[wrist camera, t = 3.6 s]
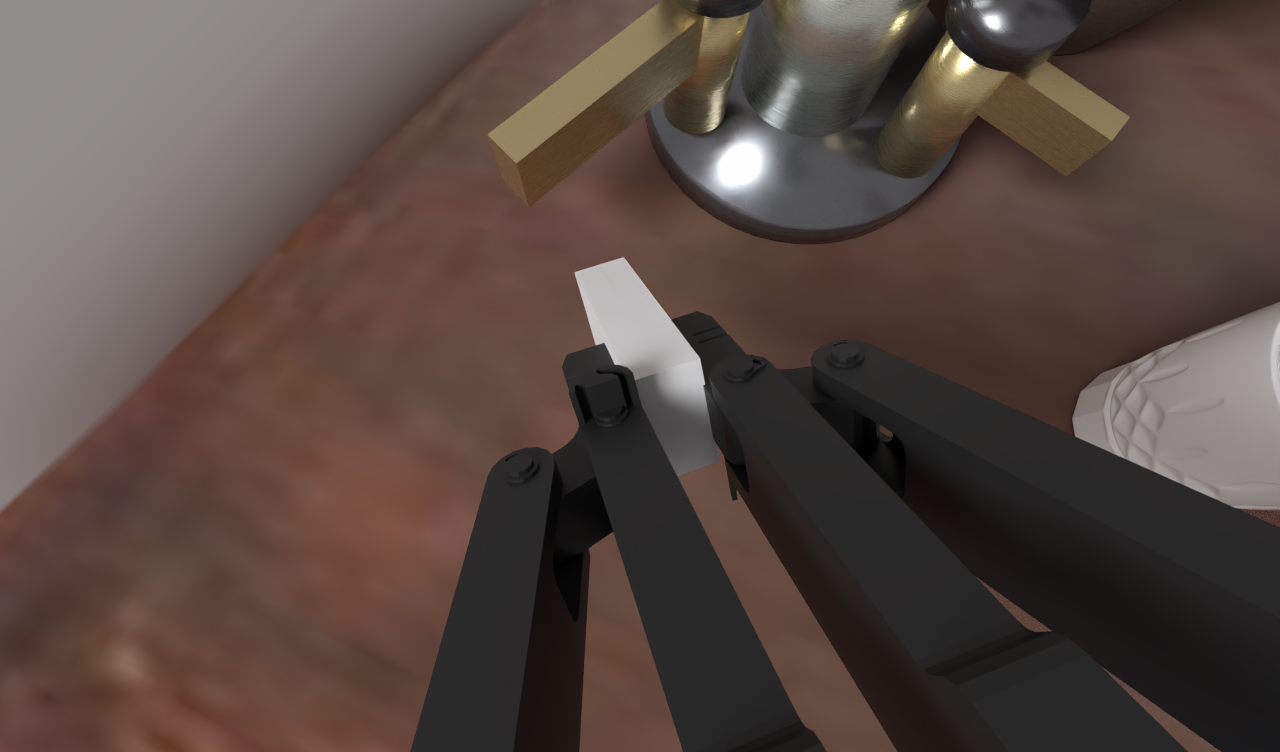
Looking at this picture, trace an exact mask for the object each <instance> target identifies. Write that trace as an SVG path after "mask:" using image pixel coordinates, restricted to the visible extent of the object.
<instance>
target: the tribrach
mask: <svg viewBox="0 0 1280 752" xmlns="http://www.w3.org/2000/svg"><path fill="white" fill-rule="evenodd" d="M929 2H930V0H764V1H763V2H762V3H761V4H760V5H759V6H758V7H756V8H755V9H753V10H752V11H750V14H749V18H748V22H747V26H746V30H745V34H744V38H743V42H742V46H741V50H740V54H739V58H738V62H737V67H736V71H735V75H734V79H733V83H732V87H731V91H730V95H729V99H728V103H727V107H726V111H725V115H724V118H723V120H722V121H721V123H720V124H719V125H718V126H717V127H716V128H714V129H713V130H711V131H709V132H707V133H703V134H688V133H684V132H682V131H680V130H678V129H676V128H675V127H673V126H672V125H671V124H670V123H669V122H668V120H667V119H666V117H665V114H664V111H663V100H664V98H663V99H662V100H660V101H659V102H658V103H657V104H655V105H654V106H653V107H652V108H651V109H649V110H648V111H647V112H646V113H645V116H646V122H647V128H648V132H649V135H650V138H651V141H652V145H653V147H654V149H655V151H656V153H657V155H658V158H659V160H660V162H661V163H662V165H663V166H664V168H665V169H666V171H667V173H668V174H669V176H670V177H671V179H672V180H673V181H674V182H675V183H676V184H677V185H678V187H679V188H680V189H681V190H682V191H683V192H684V193H685V194H686V195H687V196H688V197H689V198H690V199H691V200H692V201H693V202H695V203H696V204H697V205H698V206H699V207H700V208H702V209H703V210H705V211H706V212H708V213H709V214H711V215H712V216H713V217H715V218H716V219H718V220H720V221H722V222H724V223H726V224H728V225H730V226H732V227H733V228H736V229H738V230H741V231H743V232H746V233H749V234H751V235H754V236H757V237H761V238H765V239H769V240H773V241H779V242H786V243H794V244H822V243H831V242H839V241H843V240H847V239H851V238H855V237H859V236H861V235H864V234H866V233H869V232H872V231H874V230H876V229H878V228H880V227H882V226H884V225H886V224H887V223H889V222H891V221H893V220H894V219H895V218H897V217H898V216H899V215H901V214H902V213H903V212H905V211H906V210H907V209H908V208H909V207H910V206H911V205H912V204H913V203H914V202H915V201H916V200H917V199H918V198H919V197H920V196H921V195H922V194H923V193H924V192H925V191H926V190H927V189H928V187H929V186H930V185H931V184H932V183H933V182H934V181H935V180H936V179H937V178H938V176H939V175H940V174H941V173H942V171H943V170H944V168H945V167H946V166H947V164H948V163H949V161H950V160H951V158H952V156H953V154H954V152H955V150H956V148H957V146H958V144H959V141H960V138H961V135H962V134H963V132H964V131H965V130H966V129H967V128H968V127H969V126H970V124H971V123H972V122H973V121H974V120H975V119H976V117H977V116H978V115H979V116H980V117H982V118H983V119H984V120H986V121H987V122H989V123H990V124H992V125H993V126H994V127H996V128H997V129H999V130H1000V131H1001V132H1003V133H1004V134H1006V135H1007V136H1009V137H1010V138H1011V139H1013V140H1014V141H1016V142H1017V143H1019V144H1020V145H1021V146H1023V147H1024V148H1026V149H1027V150H1029V151H1030V152H1031V153H1033V154H1034V155H1036V156H1037V157H1039V158H1040V159H1041V160H1043V161H1044V162H1046V163H1047V164H1048V165H1050V166H1051V167H1053V168H1054V169H1056V170H1057V171H1058V172H1060V173H1061V174H1063V175H1064V176H1068V175H1069V174H1070V173H1072V172H1073V171H1074V170H1075V169H1077V168H1078V167H1079V166H1080V165H1082V164H1083V163H1084V162H1086V161H1087V160H1088V159H1089V158H1091V157H1092V156H1093V155H1094V154H1096V153H1097V152H1098V151H1100V150H1101V149H1102V148H1103V147H1105V146H1106V145H1107V144H1109V143H1110V142H1111V141H1112V140H1113V139H1114V137H1115V136H1116V135H1117V134H1118V132H1119V131H1120V130H1121V128H1122V127H1123V126H1124V125H1125V123H1126V122H1127V121H1128V119H1129V118H1130V117H1129V116H1127V115H1126V114H1124V113H1123V112H1122V111H1120V110H1119V109H1117V108H1116V107H1114V106H1113V105H1111V104H1110V103H1108V102H1107V101H1105V100H1104V99H1102V98H1101V97H1099V96H1098V95H1096V94H1095V93H1093V92H1092V91H1090V90H1089V89H1087V88H1086V87H1084V86H1083V85H1081V84H1080V83H1078V82H1077V81H1076V80H1074V79H1073V78H1071V77H1070V76H1068V75H1067V74H1065V73H1064V72H1062V71H1061V70H1059V69H1058V68H1056V67H1055V66H1053V65H1052V64H1050V63H1049V62H1047V60H1048V59H1049V58H1050V57H1051V56H1052V55H1053V54H1054V52H1055V51H1056V50H1057V49H1058V48H1059V47H1060V46H1061V45H1062V44H1063V43H1064V41H1065V40H1066V39H1067V38H1068V37H1069V36H1070V35H1071V34H1072V33H1073V32H1074V31H1075V29H1076V28H1077V27H1078V26H1079V25H1080V24H1081V23H1082V22H1083V21H1084V19H1085V18H1086V16H1087V14H1088V12H1089V10H1090V6H1091V0H948V3H947V6H946V10H945V22H946V27H947V31H945V29H944V28H943V26H942V25H941V23H940V22H939V21H938V19H937V18H936V17H935V16H934V15H933V13H932V12H931V11H930V10H929V8H927V5H928V3H929Z"/></svg>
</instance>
